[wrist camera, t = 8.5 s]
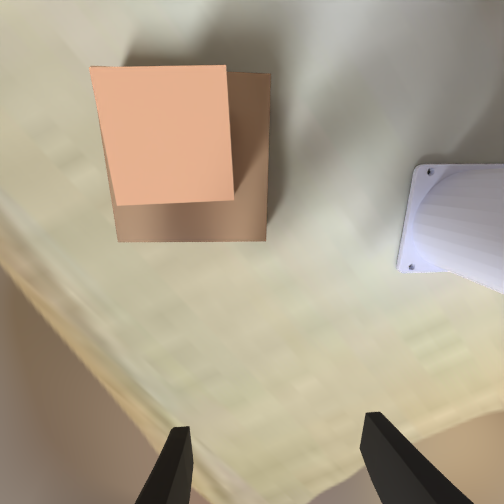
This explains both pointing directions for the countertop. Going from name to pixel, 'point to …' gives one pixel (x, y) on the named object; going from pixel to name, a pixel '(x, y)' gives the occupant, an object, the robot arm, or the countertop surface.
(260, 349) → the countertop surface
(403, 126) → the countertop surface
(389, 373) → the countertop surface
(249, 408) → the countertop surface
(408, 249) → the robot arm
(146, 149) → the peach block
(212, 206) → the walnut box
